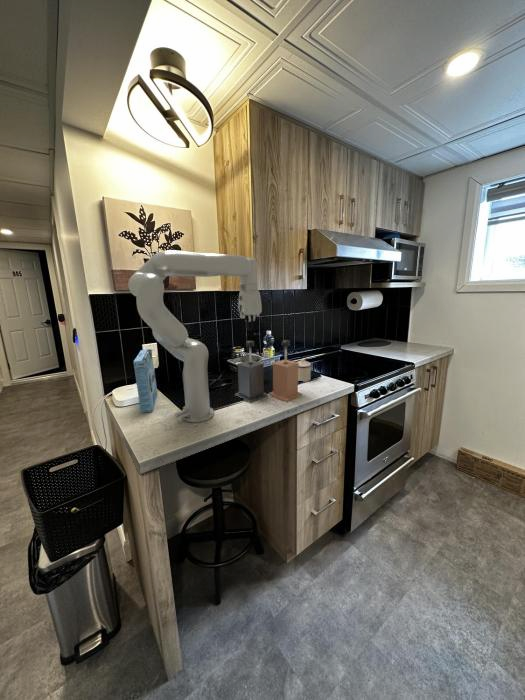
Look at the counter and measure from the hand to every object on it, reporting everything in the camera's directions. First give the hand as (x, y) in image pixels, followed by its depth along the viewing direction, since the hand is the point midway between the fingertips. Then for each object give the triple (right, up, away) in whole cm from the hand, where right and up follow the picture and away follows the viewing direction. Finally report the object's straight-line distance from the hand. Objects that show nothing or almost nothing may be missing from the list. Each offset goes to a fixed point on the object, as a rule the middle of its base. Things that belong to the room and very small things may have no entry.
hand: (250, 329), depth 122 cm
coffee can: (-1, -27, +24) cm, 36 cm away
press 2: (+16, -31, +8) cm, 36 cm away
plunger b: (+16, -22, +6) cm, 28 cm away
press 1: (0, -31, +8) cm, 32 cm away
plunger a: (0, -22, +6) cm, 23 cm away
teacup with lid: (+27, -25, +30) cm, 47 cm away
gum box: (-46, -33, +2) cm, 57 cm away
